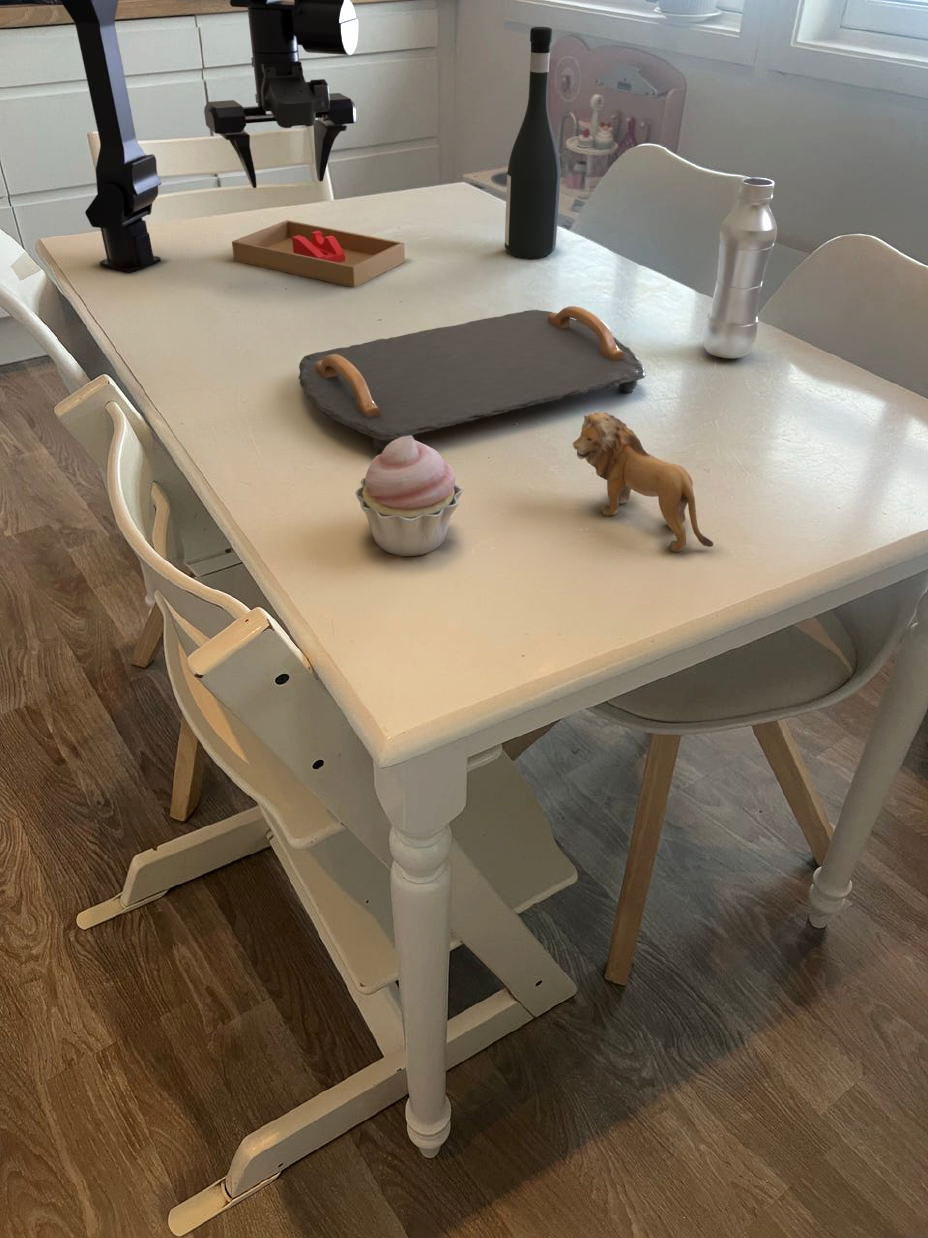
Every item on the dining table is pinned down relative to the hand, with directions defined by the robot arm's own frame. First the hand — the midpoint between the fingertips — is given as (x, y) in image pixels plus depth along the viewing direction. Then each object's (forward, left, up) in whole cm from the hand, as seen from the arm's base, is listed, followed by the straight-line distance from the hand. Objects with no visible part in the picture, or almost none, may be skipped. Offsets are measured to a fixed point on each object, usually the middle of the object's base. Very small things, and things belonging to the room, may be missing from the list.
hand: (287, 183), depth 129 cm
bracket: (-3, +9, -13) cm, 17 cm away
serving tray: (+39, -18, -14) cm, 45 cm away
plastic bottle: (+61, +7, -14) cm, 63 cm away
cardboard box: (-3, +9, -13) cm, 17 cm away
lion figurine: (+66, -35, -14) cm, 76 cm away
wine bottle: (+22, +30, -14) cm, 40 cm away
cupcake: (+50, -48, -14) cm, 70 cm away
